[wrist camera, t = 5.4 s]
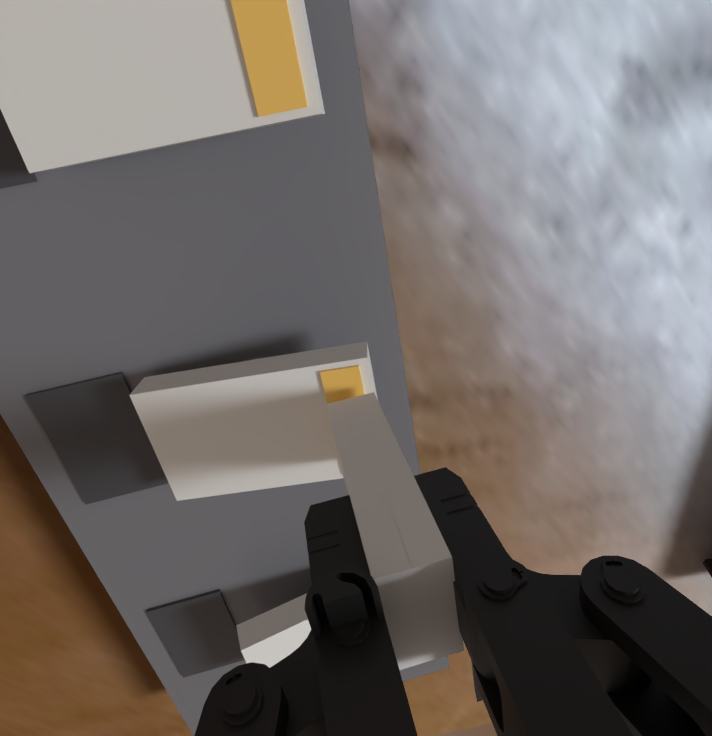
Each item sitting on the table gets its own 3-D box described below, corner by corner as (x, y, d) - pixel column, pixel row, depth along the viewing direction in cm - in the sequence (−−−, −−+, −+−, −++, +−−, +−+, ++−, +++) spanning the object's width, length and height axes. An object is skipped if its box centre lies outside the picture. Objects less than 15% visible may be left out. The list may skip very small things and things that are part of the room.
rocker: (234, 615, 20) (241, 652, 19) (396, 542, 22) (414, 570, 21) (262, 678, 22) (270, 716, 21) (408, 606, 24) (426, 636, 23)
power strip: (-280, -235, 12) (-500, -390, 8) (276, -303, 13) (282, -464, 10) (245, 754, 33) (243, 827, 29) (443, 693, 34) (464, 756, 30)
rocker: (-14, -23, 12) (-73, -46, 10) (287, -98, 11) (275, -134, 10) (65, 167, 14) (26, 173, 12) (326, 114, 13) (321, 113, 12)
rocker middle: (150, 370, 17) (127, 396, 15) (366, 335, 16) (367, 358, 14) (191, 470, 19) (175, 502, 17) (386, 442, 18) (389, 474, 16)
